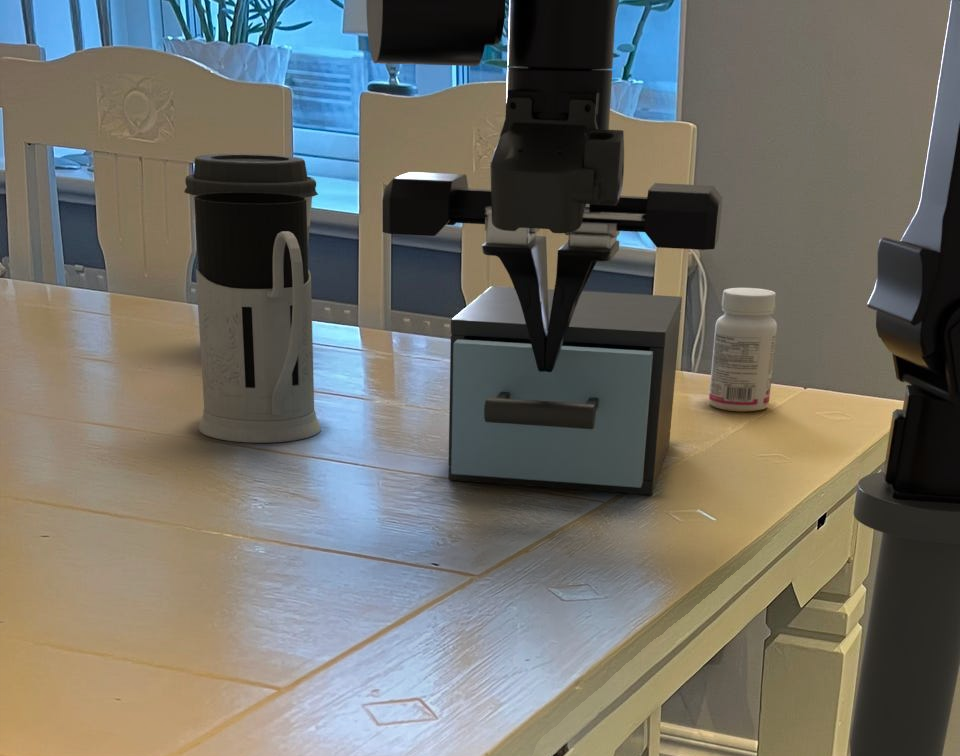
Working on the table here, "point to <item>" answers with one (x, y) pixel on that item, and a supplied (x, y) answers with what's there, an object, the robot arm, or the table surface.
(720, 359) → the pill bottle
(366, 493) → the table surface
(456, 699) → the table surface
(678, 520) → the table surface
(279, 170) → the coffee cup
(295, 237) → the glass holder
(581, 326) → the cabinet
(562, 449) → the drawer
